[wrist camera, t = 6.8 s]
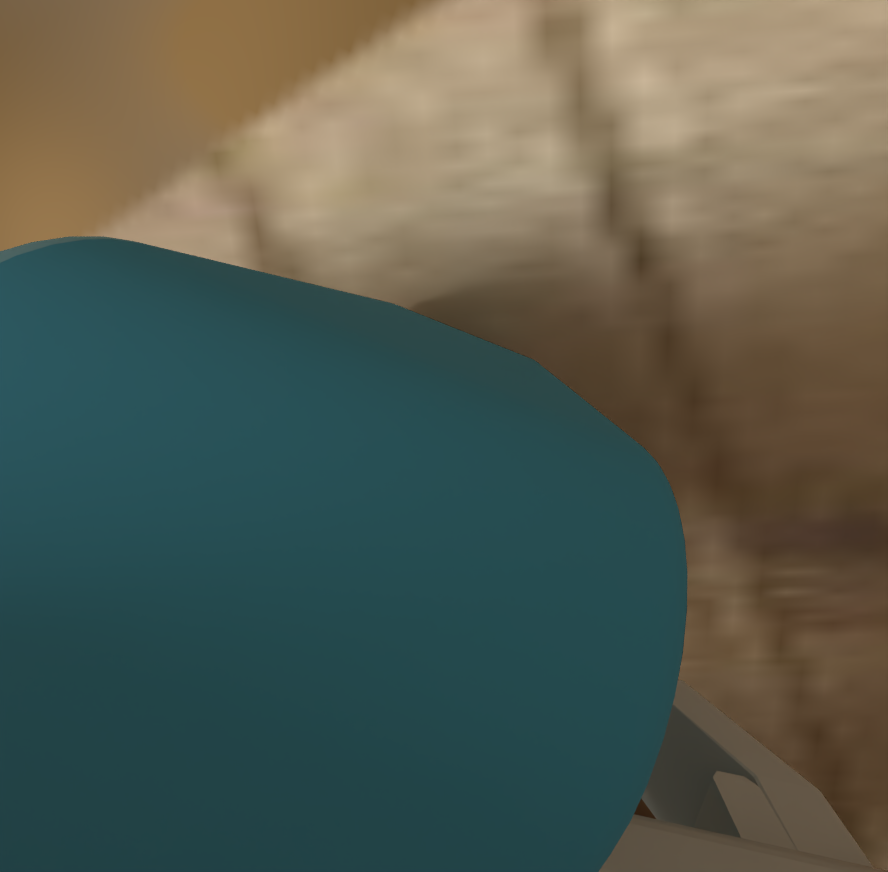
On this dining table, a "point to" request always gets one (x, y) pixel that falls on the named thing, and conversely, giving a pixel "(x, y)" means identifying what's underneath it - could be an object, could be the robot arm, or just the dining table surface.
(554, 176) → the dining table surface
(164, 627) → the data package
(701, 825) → the robot arm
